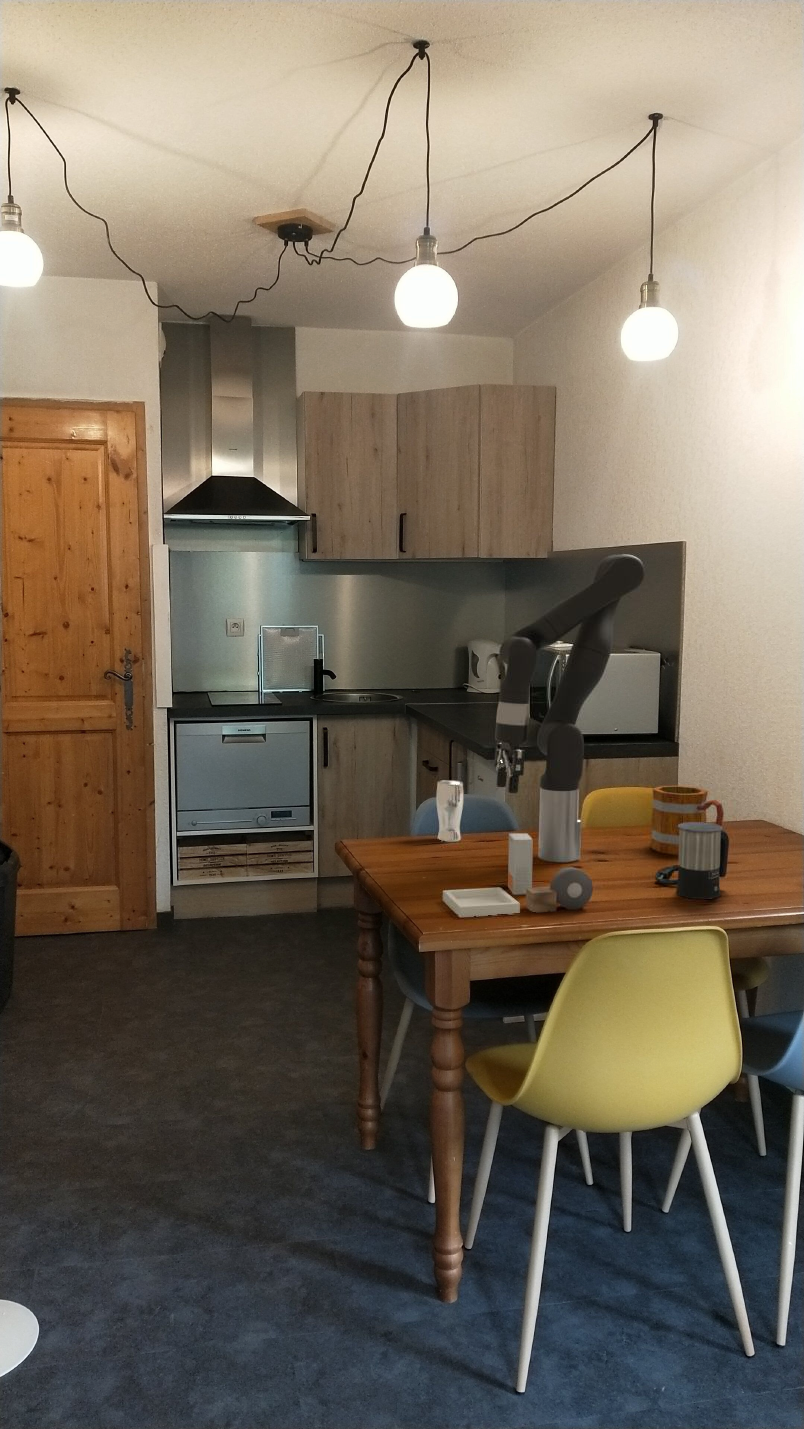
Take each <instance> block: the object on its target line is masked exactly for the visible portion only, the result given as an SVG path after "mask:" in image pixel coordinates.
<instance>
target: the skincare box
mask: <svg viewBox="0 0 804 1429" xmlns="http://www.w3.org/2000/svg"><path fill="white" fill-rule="evenodd" d="M533 841H534V840H533V838H532V837H531V835H529V834H528V833H526V832H525V833H508V865H507V866H508V867H507V868H508V869H507V870H508V874H507V876H508V877H507V881H508V882H507V887H508V888H509V890H510V892H511V893H512V895H515V896H517V895H526V888H533V854H534V852H533V847H534V846H533V844H534V843H533Z"/></svg>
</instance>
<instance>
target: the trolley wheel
mask: <svg viewBox="0 0 804 1429" xmlns="http://www.w3.org/2000/svg"><path fill="white" fill-rule="evenodd" d="M549 887H551V888H552V889H553V890H555V891H556V892H557V898H556V903H557V904H560V905H561V907H563V908H565V909H568V910H579V909H581V908H583V907H584V906H586V904H588V902H590V899H592V898H591V897H592V895H593V890H594V886H593V882H592V880H591V878H590V877H589V875H588V874H586V873H585V872H584V871H583V870H580V869H579V868H577V867H573V866H567V867H563V868H561V869H560V870H558V871H556V873H555V874H554V875H553V877H552V879H551V881H550V886H549Z"/></svg>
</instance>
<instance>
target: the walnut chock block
mask: <svg viewBox="0 0 804 1429" xmlns="http://www.w3.org/2000/svg"><path fill="white" fill-rule="evenodd" d="M556 898H557V892H556V891H555V890H553V889H552V888H551V887H550V886H537V887H532V888H526V894H525V908H526V909H528V910H529V911H530V912H531V911H532V912H536V913H547V912H548V911H550V913H551V912H557V902H556ZM532 912H531V913H532ZM548 913H549V912H548Z"/></svg>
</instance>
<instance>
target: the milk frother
mask: <svg viewBox="0 0 804 1429" xmlns="http://www.w3.org/2000/svg"><path fill="white" fill-rule="evenodd" d="M678 827H679V829H680V830H679V855H678V864H675V865H669V866H665V867H663V868H661V869H659V870H657V871H656V872H655V875H654V879H655V881H657V882H658V883H660V884H663V885H665V886H676V890H675V893H676V894H677V895H679V896H681V897H683V898H684V897H685V898H687V899H693V900H694V899H696V900H712V899H716V898H719V897H720V896H721V891H720V878H725V877H726V876H727V872H728V871H727V868H728V860H729V859H728V858H729V847H730V838H729V834H728V833H727V831H725V830H724V829H723V826H722V827H721V826H719V825H716V823H712V822H711V823H710V822H706V823H704V822H687V823H681V824H679V825H678ZM675 872H677V879H671V877H672V876H673V874H674V873H675Z"/></svg>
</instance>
